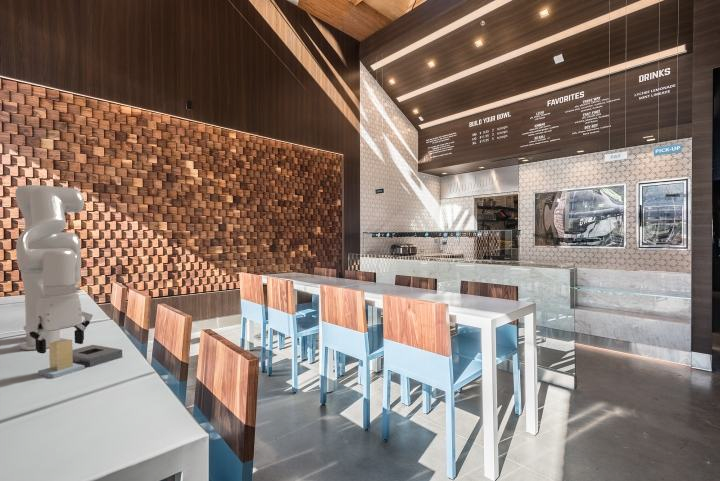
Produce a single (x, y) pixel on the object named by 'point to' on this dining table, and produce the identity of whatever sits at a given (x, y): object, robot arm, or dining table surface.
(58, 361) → the brass block
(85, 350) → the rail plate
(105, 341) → the dining table surface
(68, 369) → the mat
